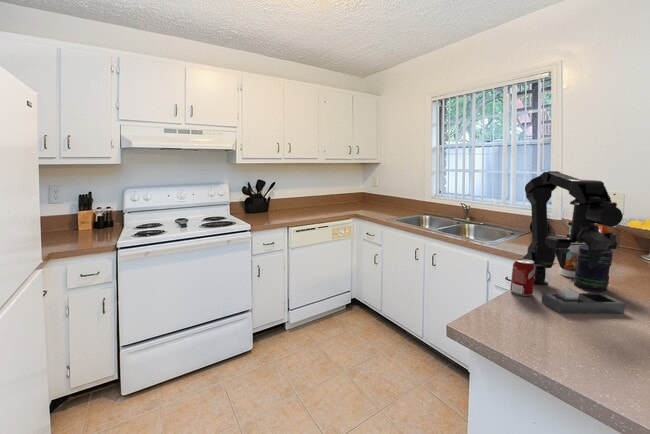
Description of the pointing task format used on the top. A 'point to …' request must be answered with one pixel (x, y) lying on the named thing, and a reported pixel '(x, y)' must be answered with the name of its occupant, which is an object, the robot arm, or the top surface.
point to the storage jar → (592, 271)
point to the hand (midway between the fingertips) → (576, 268)
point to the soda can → (523, 277)
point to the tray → (585, 303)
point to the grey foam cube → (567, 294)
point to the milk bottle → (570, 261)
